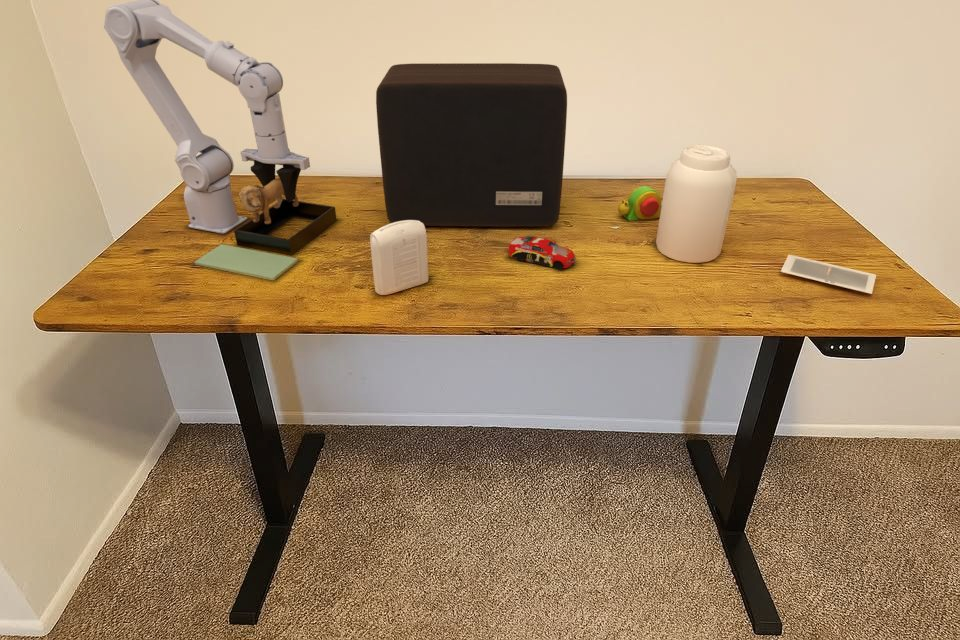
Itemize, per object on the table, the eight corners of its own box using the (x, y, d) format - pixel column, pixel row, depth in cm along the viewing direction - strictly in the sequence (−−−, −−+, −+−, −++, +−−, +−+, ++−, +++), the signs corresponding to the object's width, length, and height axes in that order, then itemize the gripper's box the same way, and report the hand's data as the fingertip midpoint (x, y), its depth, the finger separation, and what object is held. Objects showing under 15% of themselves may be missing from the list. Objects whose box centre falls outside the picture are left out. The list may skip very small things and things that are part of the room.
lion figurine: (262, 235, 125) (253, 193, 119) (240, 229, 126) (229, 188, 121) (305, 200, 136) (298, 161, 130) (284, 196, 137) (276, 156, 131)
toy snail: (610, 214, 142) (613, 186, 139) (687, 202, 147) (692, 175, 144) (624, 226, 137) (628, 197, 134) (703, 213, 142) (709, 185, 139)
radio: (553, 197, 150) (562, 61, 134) (559, 231, 136) (569, 82, 119) (398, 196, 151) (387, 61, 135) (386, 229, 137) (373, 82, 120)
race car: (579, 261, 125) (580, 242, 123) (569, 273, 121) (570, 254, 118) (516, 246, 130) (517, 228, 128) (504, 258, 126) (505, 239, 123)
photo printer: (421, 272, 121) (417, 211, 114) (432, 282, 118) (429, 220, 111) (371, 288, 116) (363, 225, 110) (381, 299, 113) (375, 235, 107)
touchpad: (787, 259, 125) (790, 249, 124) (874, 279, 118) (878, 269, 117) (779, 276, 119) (782, 266, 118) (869, 299, 113) (873, 288, 111)
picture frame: (237, 245, 131) (233, 230, 129) (286, 212, 144) (283, 198, 142) (291, 255, 127) (289, 240, 125) (337, 220, 140) (335, 206, 139)
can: (642, 241, 131) (657, 144, 120) (693, 231, 135) (712, 136, 124) (680, 269, 122) (700, 167, 111) (734, 257, 126) (758, 157, 114)
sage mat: (194, 264, 124) (193, 261, 124) (222, 246, 131) (221, 243, 130) (273, 280, 119) (273, 277, 119) (298, 261, 125) (297, 258, 125)
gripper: (314, 129, 125) (323, 196, 132) (251, 122, 129) (264, 186, 137) (293, 141, 119) (304, 209, 127) (228, 132, 124) (243, 199, 131)
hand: (282, 198), depth 131 cm, fingers closed on lion figurine, 4 cm apart
